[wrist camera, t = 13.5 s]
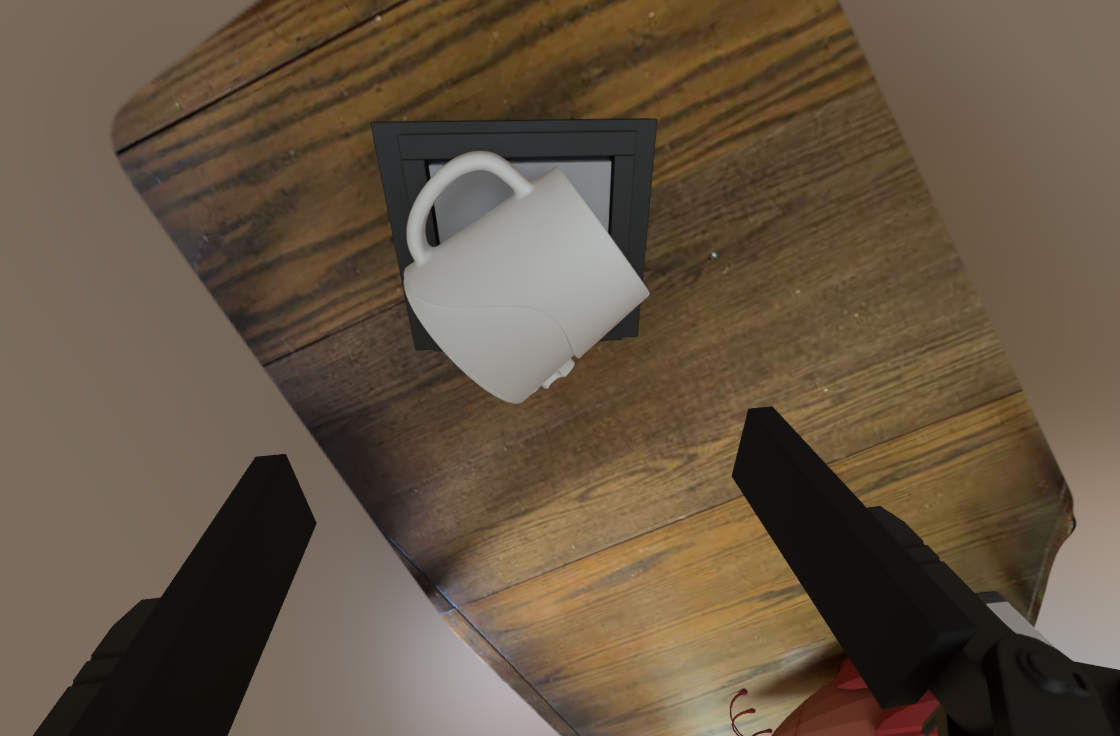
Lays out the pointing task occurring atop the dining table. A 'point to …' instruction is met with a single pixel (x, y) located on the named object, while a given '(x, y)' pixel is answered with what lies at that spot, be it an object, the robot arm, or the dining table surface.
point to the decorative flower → (850, 711)
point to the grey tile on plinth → (488, 190)
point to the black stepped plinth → (617, 140)
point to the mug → (518, 280)
